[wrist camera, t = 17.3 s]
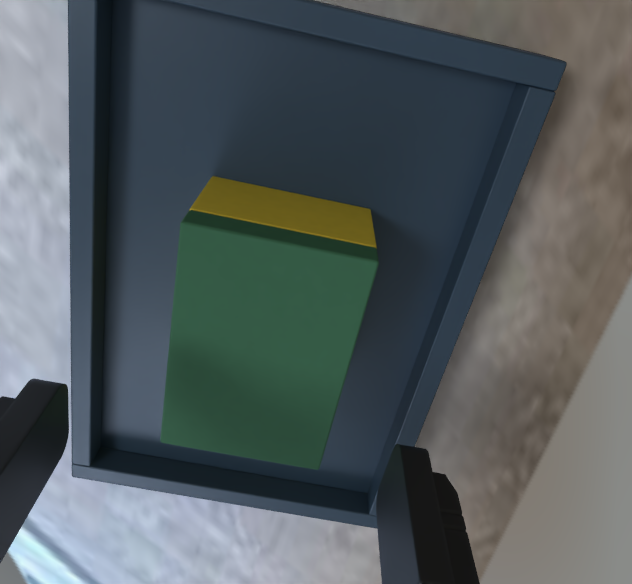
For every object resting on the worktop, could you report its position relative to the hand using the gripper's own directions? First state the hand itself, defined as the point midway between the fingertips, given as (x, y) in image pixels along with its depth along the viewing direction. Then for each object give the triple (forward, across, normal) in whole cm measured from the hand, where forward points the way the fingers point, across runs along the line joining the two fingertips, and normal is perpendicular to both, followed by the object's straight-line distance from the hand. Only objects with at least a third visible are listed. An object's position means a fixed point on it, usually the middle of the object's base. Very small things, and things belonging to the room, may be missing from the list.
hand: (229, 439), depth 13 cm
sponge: (+8, 0, 0) cm, 8 cm away
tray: (+9, 0, 0) cm, 9 cm away
